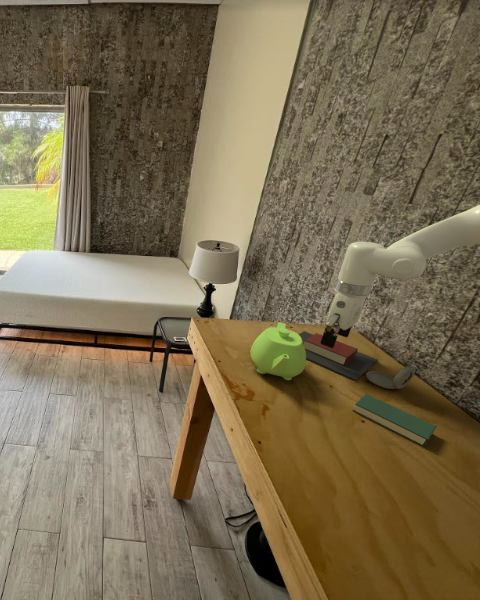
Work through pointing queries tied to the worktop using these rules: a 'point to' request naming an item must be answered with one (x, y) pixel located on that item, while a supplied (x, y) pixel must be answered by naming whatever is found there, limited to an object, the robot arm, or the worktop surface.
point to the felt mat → (350, 370)
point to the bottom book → (395, 419)
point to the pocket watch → (389, 381)
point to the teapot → (279, 352)
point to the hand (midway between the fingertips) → (334, 340)
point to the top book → (330, 350)
